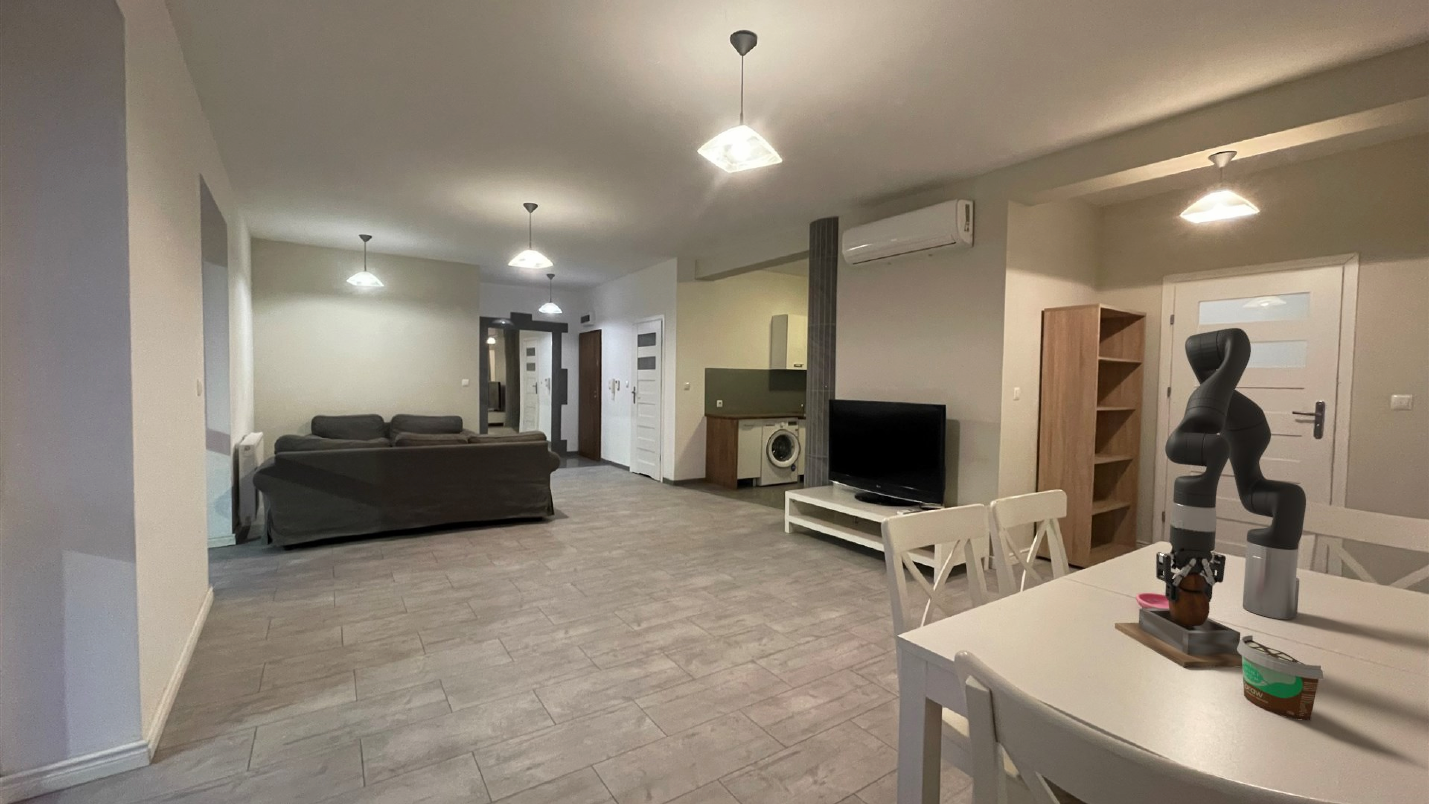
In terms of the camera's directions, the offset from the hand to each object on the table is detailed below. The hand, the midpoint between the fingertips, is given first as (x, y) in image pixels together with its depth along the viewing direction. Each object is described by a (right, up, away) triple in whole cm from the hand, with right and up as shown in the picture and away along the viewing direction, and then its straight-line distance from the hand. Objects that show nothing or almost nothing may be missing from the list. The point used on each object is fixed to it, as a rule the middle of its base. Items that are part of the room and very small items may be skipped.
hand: (1188, 600), depth 123 cm
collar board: (0, -10, 0) cm, 10 cm away
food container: (-5, -11, -22) cm, 25 cm away
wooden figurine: (0, -5, 0) cm, 5 cm away
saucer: (+10, -10, +18) cm, 23 cm away
